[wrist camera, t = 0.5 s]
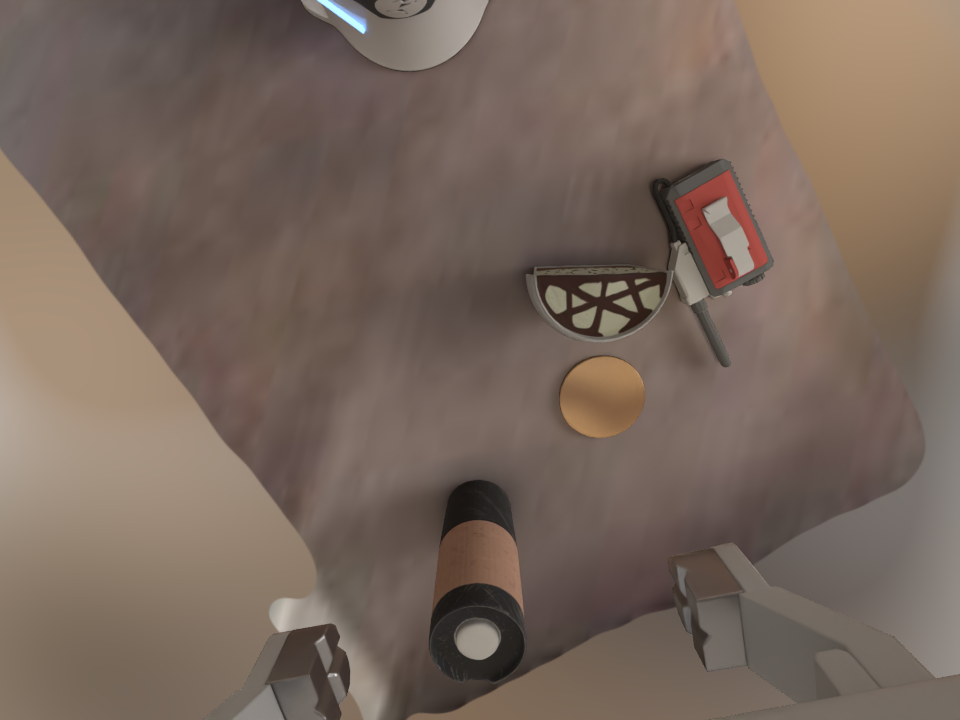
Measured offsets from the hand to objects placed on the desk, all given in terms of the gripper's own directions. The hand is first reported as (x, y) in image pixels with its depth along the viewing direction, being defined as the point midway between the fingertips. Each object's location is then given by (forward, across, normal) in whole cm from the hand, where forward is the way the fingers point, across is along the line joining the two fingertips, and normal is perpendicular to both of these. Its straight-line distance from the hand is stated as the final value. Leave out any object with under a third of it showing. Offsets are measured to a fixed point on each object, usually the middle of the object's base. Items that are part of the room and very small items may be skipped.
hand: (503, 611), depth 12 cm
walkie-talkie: (+42, -23, 0) cm, 48 cm away
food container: (+42, -10, 0) cm, 44 cm away
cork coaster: (+42, -10, +11) cm, 45 cm away
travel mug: (+42, +6, +21) cm, 48 cm away
